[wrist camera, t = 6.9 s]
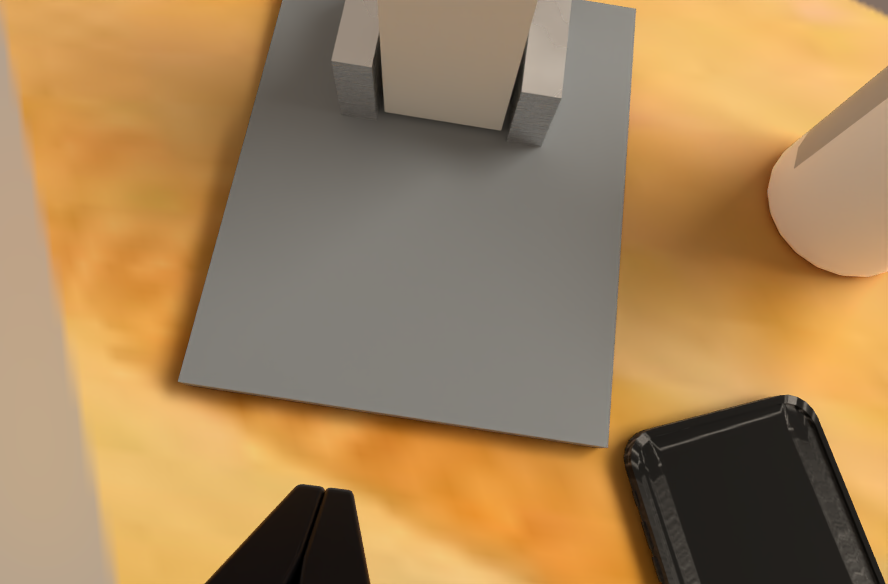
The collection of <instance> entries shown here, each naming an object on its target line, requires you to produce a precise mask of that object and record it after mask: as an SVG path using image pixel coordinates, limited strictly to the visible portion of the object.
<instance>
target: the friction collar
mask: <svg viewBox="0 0 888 584" xmlns="http://www.w3.org/2000/svg"><path fill="white" fill-rule="evenodd" d="M571 2H572V0H538V2H537V5H536V9H535V12H534V16H533V19H532V23H531V26H530V30H529V33H528V37H527V41H526V44H525V48H524V51H523V55H522V58H521V62H520V65H519V69H518V73H517V76H516V80H515V83H514V87H513V94H512V102H511V110H510V117H509V125H508V133H507V140H506V141H507V142H514V143H520V144H526V145H532V146H538V147H541V146H542V143H543V141H544V139H545V136H546V134H547V132H548V129H549V127H550V125H551V122H552V120H553V117H554V115H555V113H556V110H557V108H558V106H559V103H560V101H561V99H562V90H563V80H564V70H565V60H566V51H567V41H568V31H569V21H570V11H571ZM331 63H332V68H333V73H334V78H335V83H336V89H337V94H338V99H339V104H340V110H341V115H346V116H352V117H359V118H365V119H371V120H377V115H378V110H379V105H380V100H381V96H382V91H383V80H382V65H381V50H380V35H379V19H378V4H377V0H345V4H344V9H343V13H342V17H341V21H340V26H339V30H338V34H337V38H336V42H335V47H334V51H333V55H332V59H331Z"/></svg>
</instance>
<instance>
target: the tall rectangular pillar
mask: <svg viewBox="0 0 888 584" xmlns="http://www.w3.org/2000/svg"><path fill="white" fill-rule="evenodd" d="M537 2H538V0H377V4H378V19H379V35H380V50H381V65H382V80H383V95H384V110H385V112H388V113H394V114H401V115H407V116H413V117H419V118H425V119H432V120H438V121H444V122H450V123H456V124H462V125H469V126H475V127H481V128H487V129H493V130H500V131H501V129H502V126H503V122H504V119H505V115H506V112H507V108H508V104H509V101H510V97H511V94H512V90H513V87H514V83H515V80H516V76H517V73H518V69H519V65H520V62H521V58H522V55H523V51H524V48H525V44H526V41H527V37H528V33H529V30H530V26H531V23H532V19H533V16H534V12H535V9H536V5H537Z"/></svg>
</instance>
